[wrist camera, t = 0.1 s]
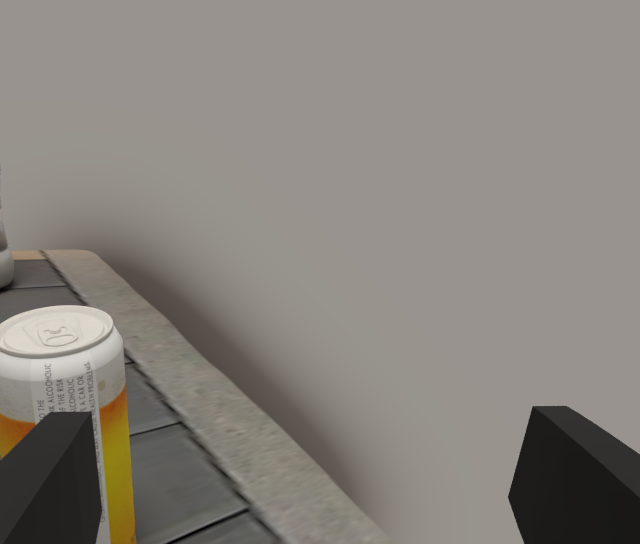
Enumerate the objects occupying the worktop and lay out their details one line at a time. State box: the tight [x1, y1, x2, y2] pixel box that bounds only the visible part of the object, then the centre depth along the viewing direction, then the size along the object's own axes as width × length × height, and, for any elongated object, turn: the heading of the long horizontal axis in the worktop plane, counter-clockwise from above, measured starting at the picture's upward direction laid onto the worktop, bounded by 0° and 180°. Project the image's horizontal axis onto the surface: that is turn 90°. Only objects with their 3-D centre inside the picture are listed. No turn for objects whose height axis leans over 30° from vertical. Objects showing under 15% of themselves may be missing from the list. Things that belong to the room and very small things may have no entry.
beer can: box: [0, 305, 136, 544], centre depth 31 cm, size 6×6×15 cm
